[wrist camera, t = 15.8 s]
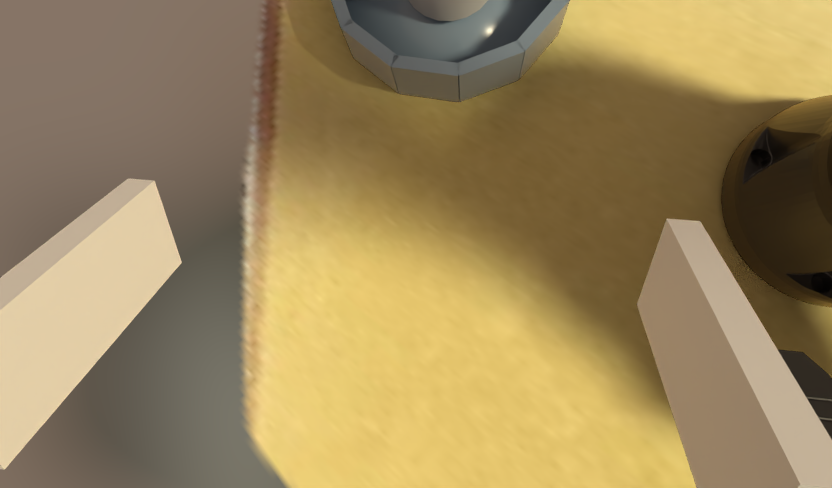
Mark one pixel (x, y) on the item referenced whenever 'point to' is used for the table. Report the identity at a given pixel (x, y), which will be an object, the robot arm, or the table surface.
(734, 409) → the robot arm
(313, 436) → the table surface
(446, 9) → the can
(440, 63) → the bowl
